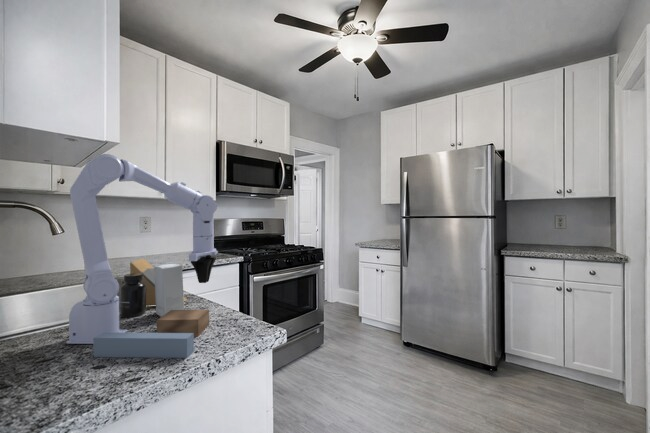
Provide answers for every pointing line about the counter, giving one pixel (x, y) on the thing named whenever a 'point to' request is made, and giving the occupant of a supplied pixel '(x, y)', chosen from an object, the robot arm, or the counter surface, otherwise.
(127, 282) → the supplement bottle
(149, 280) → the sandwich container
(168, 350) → the slate block
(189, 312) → the walnut block
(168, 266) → the skincare box
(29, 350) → the counter surface
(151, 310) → the counter surface
